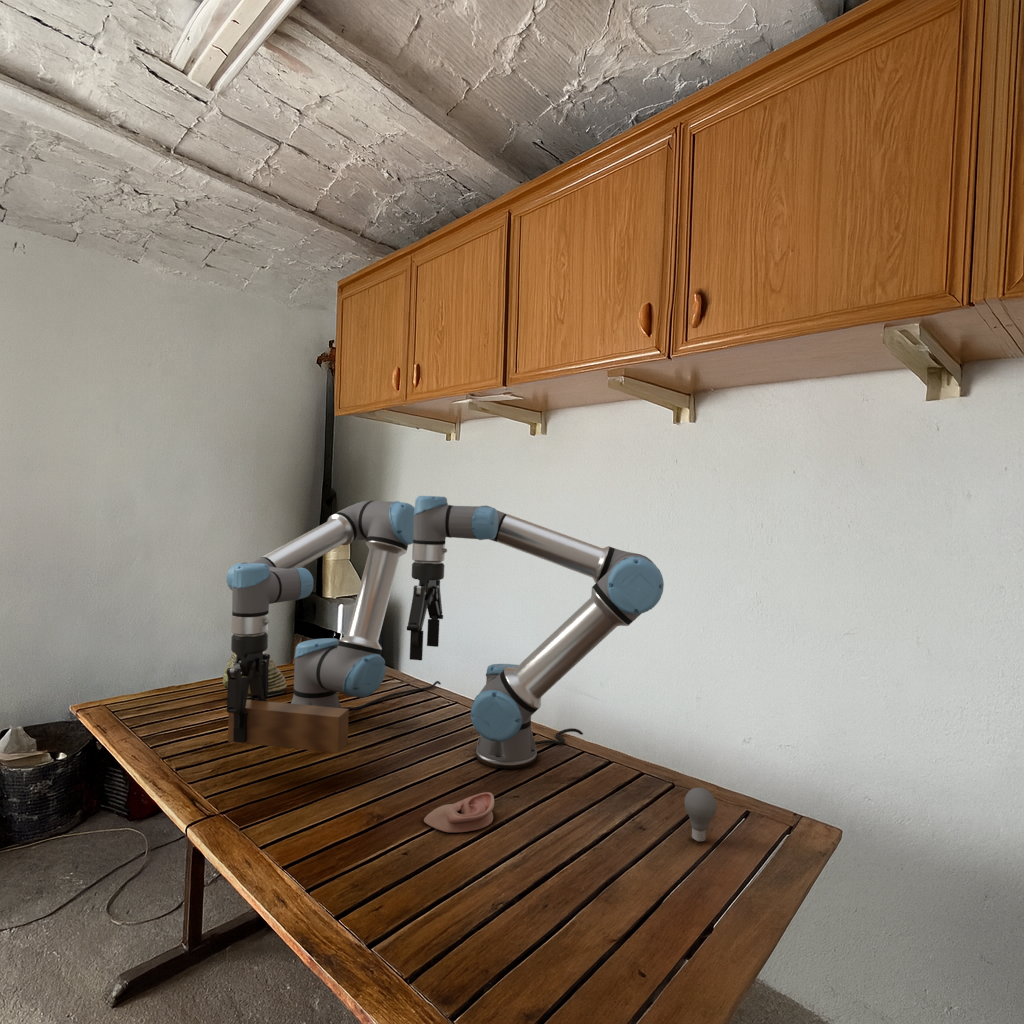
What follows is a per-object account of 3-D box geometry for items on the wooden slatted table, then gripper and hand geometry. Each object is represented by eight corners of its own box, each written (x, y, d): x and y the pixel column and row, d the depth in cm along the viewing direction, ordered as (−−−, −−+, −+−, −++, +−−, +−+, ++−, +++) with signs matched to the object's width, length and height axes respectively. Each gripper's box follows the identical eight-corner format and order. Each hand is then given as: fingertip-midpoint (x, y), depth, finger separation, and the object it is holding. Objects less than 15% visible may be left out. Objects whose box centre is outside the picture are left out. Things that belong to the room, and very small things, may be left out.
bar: (227, 741, 140) (228, 706, 139) (241, 733, 145) (242, 698, 145) (338, 753, 136) (339, 716, 136) (347, 743, 141) (348, 708, 141)
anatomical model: (419, 808, 122) (437, 782, 134) (418, 828, 122) (437, 801, 134) (485, 817, 120) (499, 791, 131) (484, 838, 120) (498, 810, 131)
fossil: (218, 695, 195) (220, 647, 195) (278, 685, 208) (279, 640, 207) (228, 703, 189) (230, 653, 188) (289, 692, 201) (290, 645, 201)
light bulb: (678, 831, 125) (680, 781, 125) (707, 831, 126) (709, 782, 126) (689, 848, 119) (691, 796, 119) (719, 848, 120) (722, 796, 120)
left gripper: (242, 644, 131) (239, 754, 132) (286, 625, 149) (284, 723, 150) (208, 641, 132) (206, 750, 133) (256, 623, 151) (254, 720, 151)
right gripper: (428, 568, 135) (424, 667, 135) (456, 558, 159) (453, 642, 160) (395, 566, 136) (391, 664, 136) (427, 556, 160) (424, 640, 161)
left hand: (247, 736), depth 142 cm, fingers closed on bar, 5 cm apart
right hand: (424, 652), depth 148 cm, fingers open, 13 cm apart
